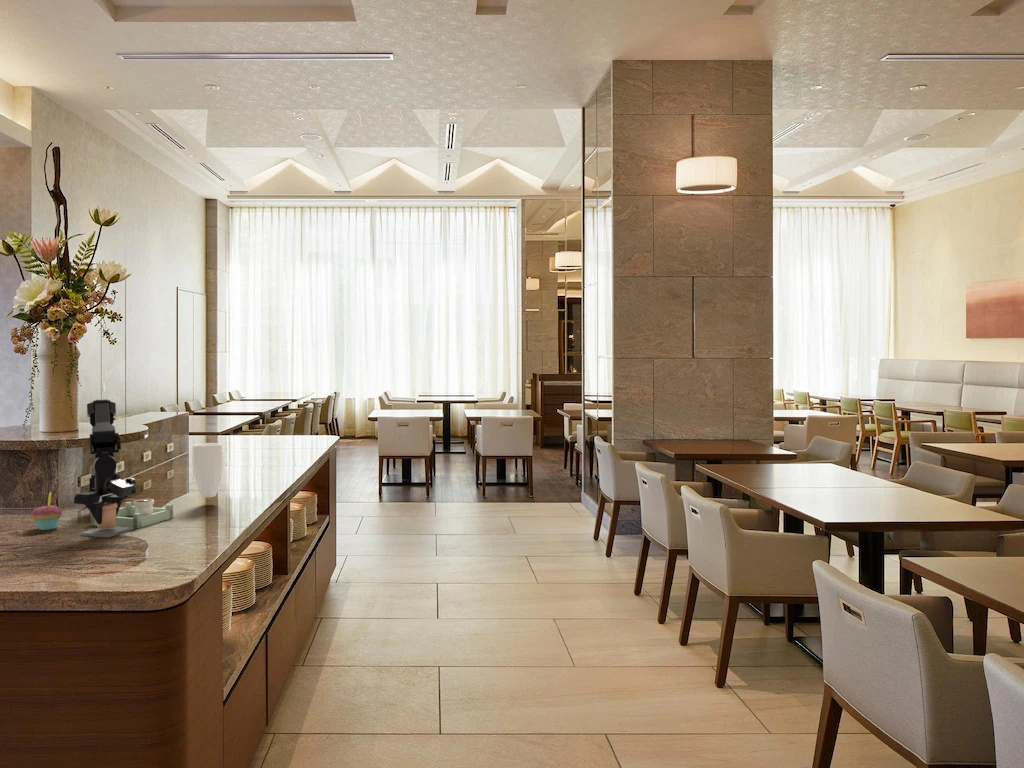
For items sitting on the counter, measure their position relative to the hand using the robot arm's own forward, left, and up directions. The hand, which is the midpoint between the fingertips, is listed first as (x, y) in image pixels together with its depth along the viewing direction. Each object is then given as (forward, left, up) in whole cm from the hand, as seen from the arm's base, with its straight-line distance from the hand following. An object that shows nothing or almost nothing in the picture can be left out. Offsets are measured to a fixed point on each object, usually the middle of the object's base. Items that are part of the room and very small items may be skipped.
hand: (106, 522), depth 241 cm
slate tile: (0, 0, -3) cm, 3 cm away
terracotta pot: (0, 0, -2) cm, 2 cm away
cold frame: (-4, +15, -3) cm, 16 cm away
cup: (+2, +45, -4) cm, 45 cm away
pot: (+1, +15, -3) cm, 15 cm away
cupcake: (-23, 0, -4) cm, 23 cm away
